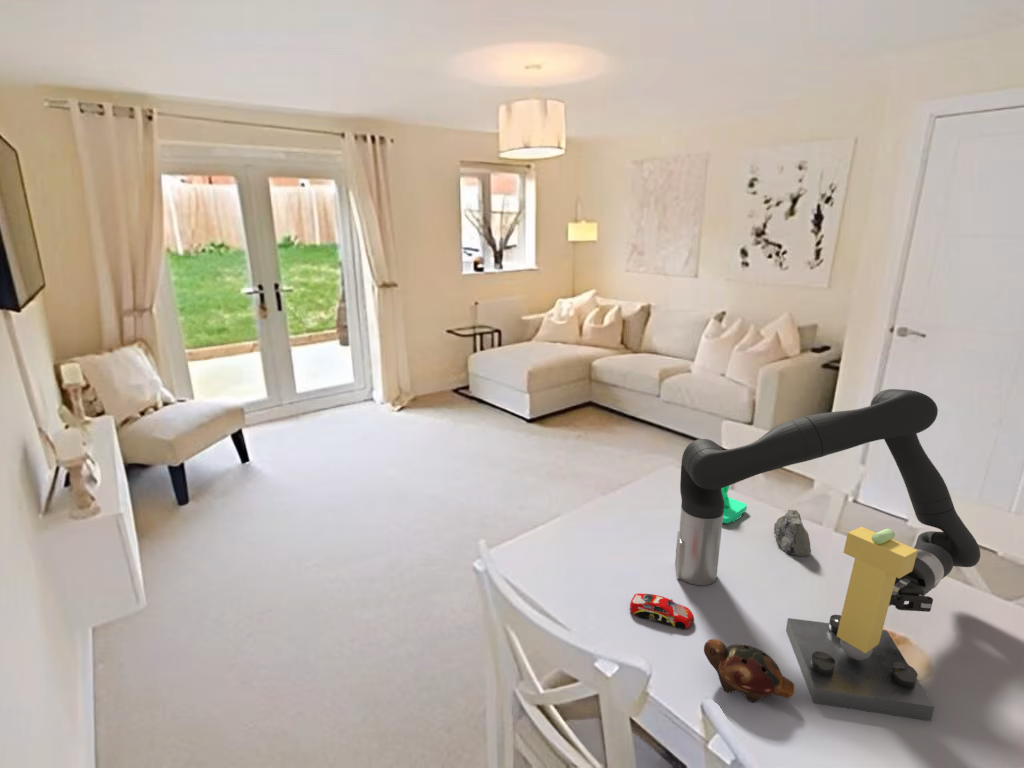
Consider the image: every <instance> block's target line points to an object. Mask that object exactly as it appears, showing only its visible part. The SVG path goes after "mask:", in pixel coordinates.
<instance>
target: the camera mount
mask: <svg viewBox="0 0 1024 768" xmlns="http://www.w3.org/2000/svg"><path fill="white" fill-rule="evenodd" d="M729 489H730V485H729V486H726V487H724V488H721V491H722V495H723V499H724V513H723V522H722V524H729V523H732V522H731V521H734V522H736V521H737V520H738V519H737V518H739V517H740V516H741V517H742V515H743V514H744V513H745V512H747V507H748V505H747V504H746V503H745V502H743V501H740V500H737V499H734V498H732V497H729V496H728V493H729ZM741 517H740V518H741ZM740 518H739V519H740ZM736 519H737V520H736ZM735 520H736V521H735Z"/></svg>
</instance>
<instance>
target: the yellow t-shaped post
mask: <svg viewBox="0 0 1024 768" xmlns="http://www.w3.org/2000/svg"><path fill="white" fill-rule="evenodd" d="M846 535H847V536H846V538H845V539H846V540H845V544H844V549H843V554H845V555H848V556H849V557H851V558H854V561H853V564H852V569H851V574H850V577H849V581H848V586H847V590H846V593H845V594H846V595H845V599H844V603H843V606H842V607H843V608H842V611H841V614H840V615H841V619H840V623H839V628H838V632H837V637H839V638H840V639H841V640H840V643H841V647H842V649H843V651H844V652H845V653H846V654H847V655H848V656H849V657H851V658H853V659H856V660H865V659H867V658H869V657H870V655H871V654H872V651H873V648H874V647H875V646H877V645H878V644H879V641H880V638H881V634H882V630H884V625H885V622H886V618H887V614H888V609H889V607H890V606H889V603H890V599H891V595H892V591H893V588H894V584H895V580H896V577H897V578H899V579H900V578H901V577H903V576H905V575H906V574H908V573H910V572H912V570H913V567H914V563H915V559H916V555H917V552H918V550H917V549H914V547H911V546H910V545H908V544H904V543H902V542H899V541H897V540H894V538H895V536H896V534H895V531H894V530H893V529H891V528H888V527H887V528H885V529H882V530H880V531H878V532H876V531H873V530H870V529H868V528H866V527H863V526H860V527H857V528H855V529H853V530H850V531H849V532H847V534H846Z"/></svg>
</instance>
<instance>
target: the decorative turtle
mask: <svg viewBox="0 0 1024 768" xmlns="http://www.w3.org/2000/svg"><path fill="white" fill-rule="evenodd" d="M703 652H704V653H703V654H704V655H705V656H706V659H707V661H708V663H710V665H711V666H712V667H713V669H715V671H716V672H717V675H718V679H719V682H720V685H721V688H722V690H723V691H724V692H725V693H733V692H739V693H741V694H743V696H744V697H745V698H746V699H747V701H749V703H752V704H754V703H758V702H759V701H760V700H761V699H763V697H767V696H771V695H776V696H778V697H782V698H785V699H790V698H791V697H792V696H793V695H794V694H795V683H794V682H793V681H791V680H790V679H788V678H786V677H785V676H783V673H782V672H781V669H780V667H779V666H778V664H777V662H776V661H775V660H774V659H773V657H771V656H769V655H768V654H767V653H766V652H764V651H763V650H760V649H759V648H757V647H754V646H751V645H747V644H743V643H736V644H731V645H729V646H727V645H726V644H725V641H722V640H721V639H716V638H714V639H708V640H707V641H706V642H705V643H704V646H703Z"/></svg>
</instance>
